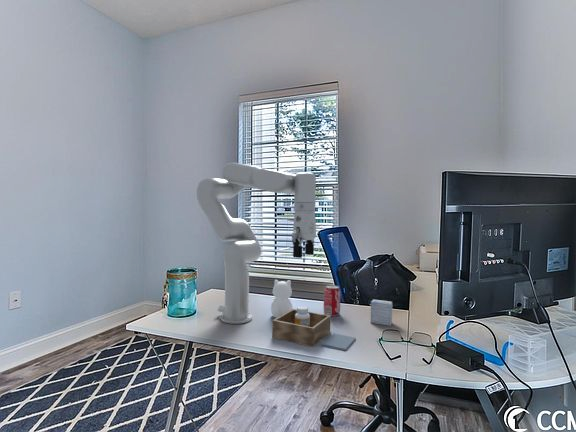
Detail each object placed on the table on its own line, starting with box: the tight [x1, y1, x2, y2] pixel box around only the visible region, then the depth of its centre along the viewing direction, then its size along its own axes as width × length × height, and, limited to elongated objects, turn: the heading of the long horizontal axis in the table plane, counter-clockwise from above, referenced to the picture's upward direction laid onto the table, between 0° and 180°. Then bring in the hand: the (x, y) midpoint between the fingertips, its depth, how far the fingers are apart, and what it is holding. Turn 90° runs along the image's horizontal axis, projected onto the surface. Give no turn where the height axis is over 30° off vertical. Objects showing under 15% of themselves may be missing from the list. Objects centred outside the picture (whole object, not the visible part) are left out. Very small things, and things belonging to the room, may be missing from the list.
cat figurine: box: [270, 279, 293, 319], centre depth 140 cm, size 9×12×15 cm
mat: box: [321, 333, 357, 352], centre depth 114 cm, size 8×11×1 cm
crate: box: [271, 308, 332, 348], centre depth 121 cm, size 16×16×6 cm
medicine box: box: [369, 298, 393, 327], centre depth 135 cm, size 8×4×9 cm, turn 65°
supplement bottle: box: [295, 305, 310, 327], centre depth 121 cm, size 5×5×10 cm
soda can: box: [323, 284, 341, 317], centre depth 144 cm, size 7×7×12 cm
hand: (303, 255), depth 120 cm, fingers open, 9 cm apart
